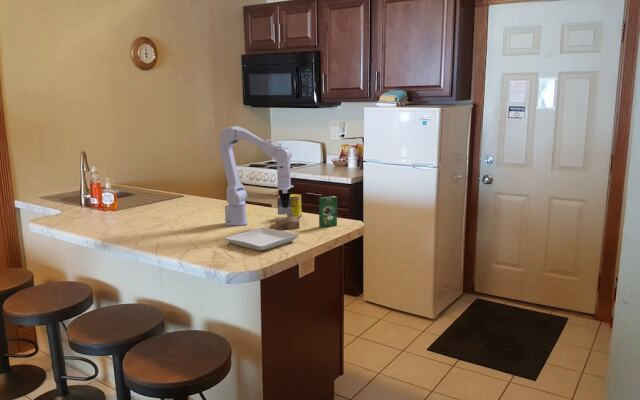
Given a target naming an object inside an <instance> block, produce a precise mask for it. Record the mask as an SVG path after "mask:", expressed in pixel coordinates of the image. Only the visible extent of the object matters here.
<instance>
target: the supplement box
mask: <svg viewBox="0 0 640 400" xmlns="http://www.w3.org/2000/svg"><path fill="white" fill-rule="evenodd" d="M290 197H291V209H292V214H286V217H297V216H298V219H299V220H300V218H302V217H303V216H302V214H303V213H302V194H298V193H297V194H295V193H293V194H292V193H291V195H290Z"/></svg>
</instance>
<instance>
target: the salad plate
mask: <svg viewBox="0 0 640 400" xmlns="http://www.w3.org/2000/svg"><path fill="white" fill-rule="evenodd" d="M298 237H299V234H296V233H293V232H288V231H283V230H280V229H274V228H268V227H259V228H256V229H252V230H248V231H244V232H240V233H237V234H233V235H231V236H230V235H229V236H227V237H225V241H227V242H229V243H230V244H233V245H236V246H240V247H242V248H247V249H250V250H251V249H252V250H254V251H255V250H256V251H268V250H270V249H274V248H276V247H279V246H282V245H285V244H288V243H290V242H293V241H295V240H296V239H297V238H298Z"/></svg>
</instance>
